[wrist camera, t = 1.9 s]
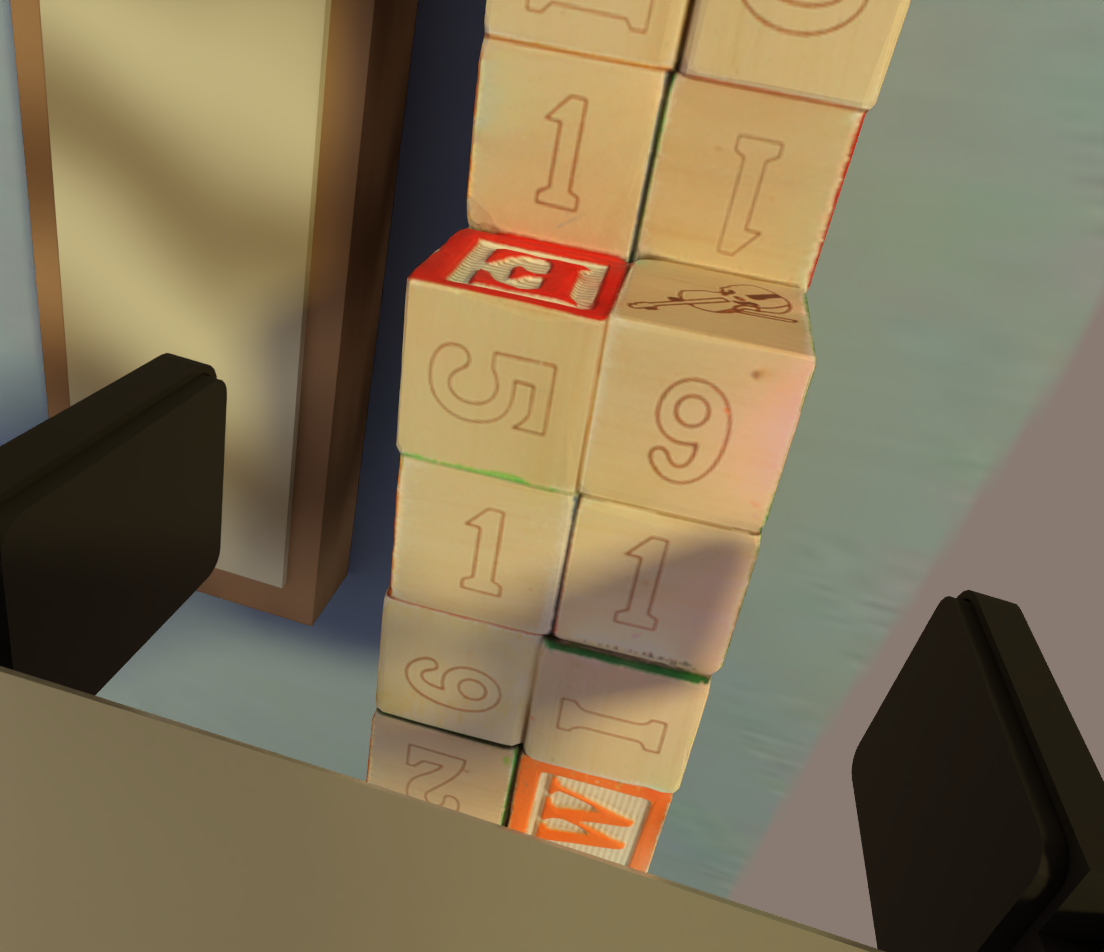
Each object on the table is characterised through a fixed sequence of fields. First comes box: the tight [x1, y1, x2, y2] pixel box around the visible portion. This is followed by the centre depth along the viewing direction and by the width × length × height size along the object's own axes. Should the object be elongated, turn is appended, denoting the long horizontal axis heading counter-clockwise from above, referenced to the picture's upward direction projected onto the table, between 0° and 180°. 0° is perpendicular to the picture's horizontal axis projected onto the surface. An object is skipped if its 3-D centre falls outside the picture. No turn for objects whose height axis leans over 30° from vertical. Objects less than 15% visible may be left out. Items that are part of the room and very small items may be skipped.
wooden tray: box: [10, 0, 418, 626], centre depth 23 cm, size 27×9×3 cm, turn 167°
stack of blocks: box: [366, 0, 911, 873], centre depth 18 cm, size 21×6×12 cm, turn 170°
